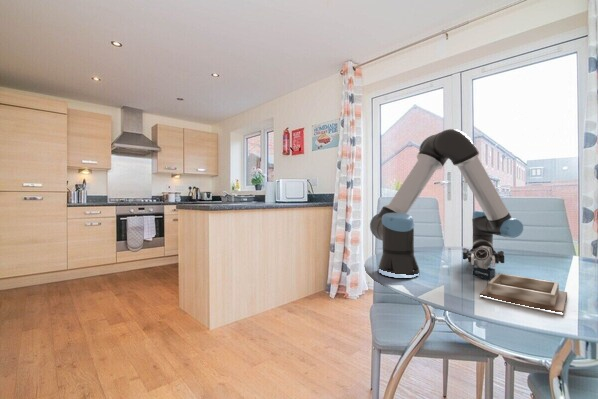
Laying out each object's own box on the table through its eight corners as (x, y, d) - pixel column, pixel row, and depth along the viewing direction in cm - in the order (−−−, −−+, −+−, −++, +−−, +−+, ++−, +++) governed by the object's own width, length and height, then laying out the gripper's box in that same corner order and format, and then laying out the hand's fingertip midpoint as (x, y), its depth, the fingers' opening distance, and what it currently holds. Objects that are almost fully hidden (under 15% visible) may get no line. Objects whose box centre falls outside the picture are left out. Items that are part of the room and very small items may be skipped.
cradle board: (479, 297, 82) (479, 283, 82) (494, 282, 95) (493, 270, 95) (563, 315, 69) (563, 299, 69) (567, 296, 82) (567, 282, 82)
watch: (470, 276, 100) (471, 246, 99) (479, 272, 105) (481, 243, 104) (487, 281, 95) (489, 249, 95) (496, 276, 100) (498, 246, 99)
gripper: (510, 261, 110) (516, 276, 90) (457, 256, 120) (452, 269, 101) (510, 242, 110) (516, 254, 90) (457, 239, 120) (452, 248, 101)
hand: (482, 262), depth 96 cm, fingers closed on watch, 5 cm apart
